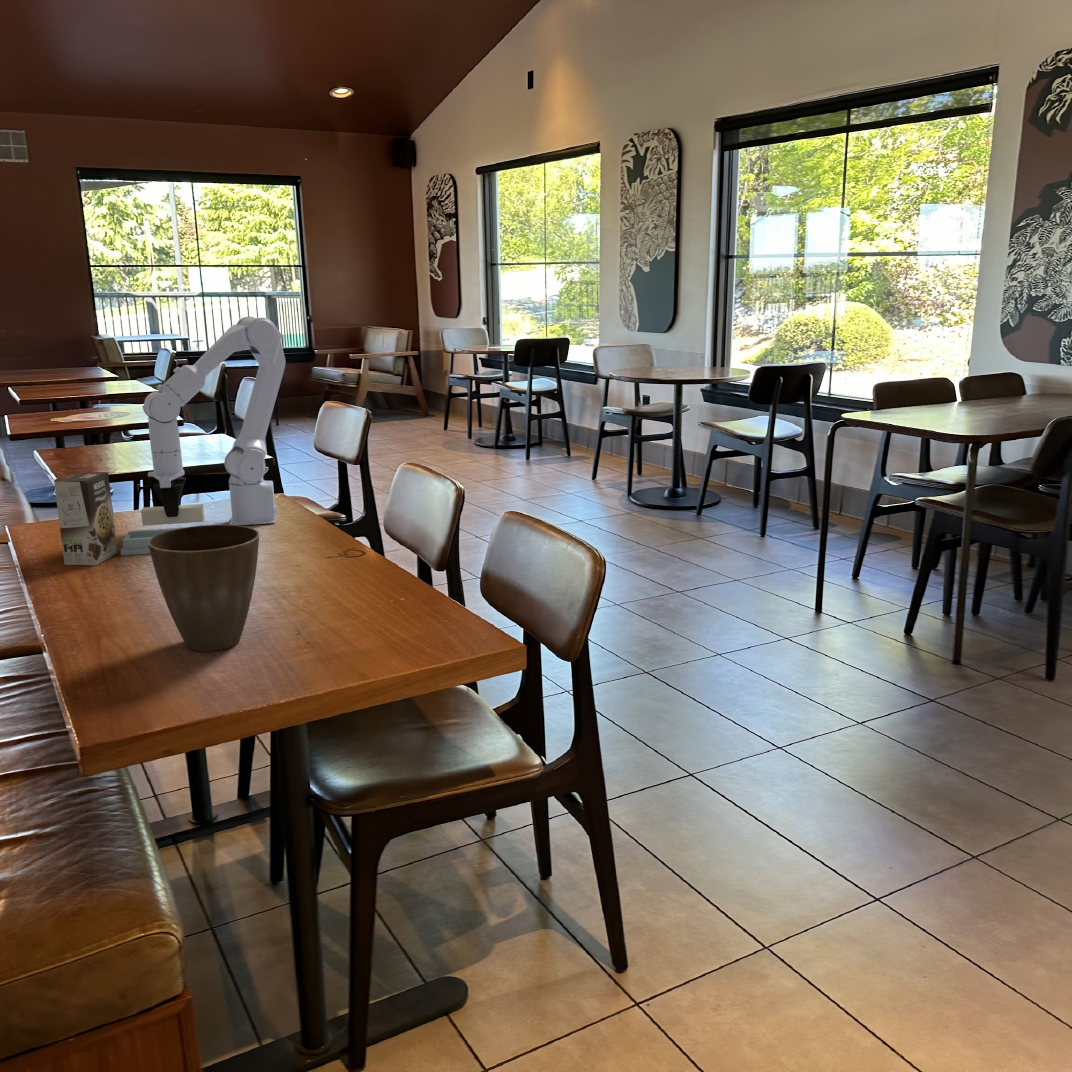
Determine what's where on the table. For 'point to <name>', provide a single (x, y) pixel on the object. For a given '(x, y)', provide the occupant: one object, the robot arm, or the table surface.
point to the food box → (86, 518)
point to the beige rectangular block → (184, 516)
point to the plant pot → (207, 581)
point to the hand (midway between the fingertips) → (173, 514)
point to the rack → (139, 541)
